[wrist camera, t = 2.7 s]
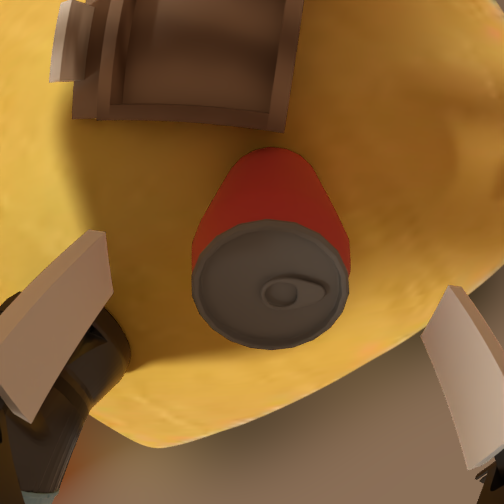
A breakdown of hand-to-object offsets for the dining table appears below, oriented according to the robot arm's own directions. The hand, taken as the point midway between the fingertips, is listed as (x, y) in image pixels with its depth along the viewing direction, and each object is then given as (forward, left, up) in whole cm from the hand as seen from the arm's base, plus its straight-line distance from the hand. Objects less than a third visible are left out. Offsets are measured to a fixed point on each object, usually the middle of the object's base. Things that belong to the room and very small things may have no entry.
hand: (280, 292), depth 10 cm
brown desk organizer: (+16, +8, -12) cm, 21 cm away
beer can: (0, 0, -12) cm, 12 cm away
